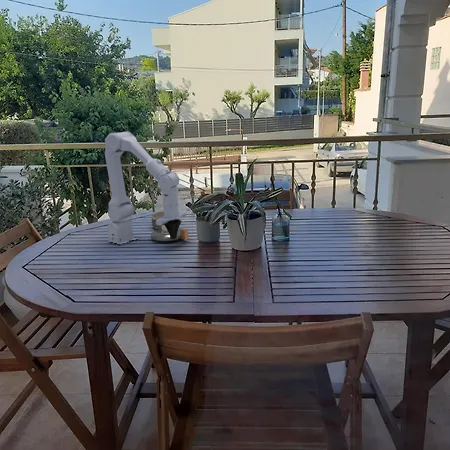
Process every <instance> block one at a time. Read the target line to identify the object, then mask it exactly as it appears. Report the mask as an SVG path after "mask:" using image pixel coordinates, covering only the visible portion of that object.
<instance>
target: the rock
mask: <svg viewBox="0 0 450 450" xmlns="http://www.w3.org/2000/svg"><path fill="white" fill-rule="evenodd" d="M163 216H164V210H163V211H162V210H161V211H157V212H154V213H153V214H152V215H151V222H152V223H151V224H152V228H153V229H154V230H157V229H162V225H164V224H162V225H156V220H157V219H159V218H161V217H163ZM178 220H180V219H178Z"/></svg>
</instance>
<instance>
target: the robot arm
mask: <svg viewBox="0 0 450 450" xmlns="http://www.w3.org/2000/svg"><path fill="white" fill-rule="evenodd" d="M104 143H105V149H104V158H105V163H106V168H107V174H108V180H109V187H110V191H111V199H110V200H109V202H108V211H107V214H108V216H109V219H110V220H111V222H109V223H108V225H107V234H108V241H110V242H113V243H112V244H114V243H117V244H122V242H125V241H129V240H132V239H133V237H134V234H133V221H132V218H133V214H134V212H135V207H134V205H133V203H132V199H131V198H130V197H129V196H128V195H127V192H126V187H125V180H124V175H123V169H122V161H121V156H122V154H124V152H130V153H132V154H133V155H134V156H135V157H137V158H138V159H139V161H141V162H143V164H144V165H145V170H146V171H147V172H148V173H150V175H151V176H152V177H153V178H154V179H155V180H156V181H157V185H158V187H159V188H160V191H161V194H162V195H161V197H162V207H163V212H164V216H163V217H161V218H159V219H157V220H156V225H162V224H164V225H165V227H166V229H167V230H168V233H169V236H170V238H171V239H176V238H177V232H178V228H180V226H181V224H182V220H181V219H182V218H186V217H187V215H188V214H187V211H180V210H179V197H178V196H179V195H178V185H179V184H180V177H179V175H178V173H177V172H174V171H171V170H170V169H169V168H167V167H166V166H165V165H164V164H163V163H162V161H161V160H160V159H158V158H153V157H152V156H151V155H150V154H149V153H148V152H147V151H146V150H145V148H144V147H143V146H142V145H141V143H139V141H138V140H137V137H135V136H134V135H133V134H132V132H130V131H122V132H111V133H109V134H108V135H107V136H106V138H105V139H104ZM179 211H180V212H179ZM178 219H179V220H178ZM110 242H109V243H110ZM117 244H116V245H117ZM122 245H123V244H122Z"/></svg>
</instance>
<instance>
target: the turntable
mask: <svg viewBox="0 0 450 450" xmlns="http://www.w3.org/2000/svg"><path fill="white" fill-rule="evenodd" d="M189 237H190V236H189V229H187V228H182V227H179V228H178V232H177V238H176V239H171V238H170V236H169V235H163V234H162V229H158V230H157V229H154V231H151V232H150V239H152V240H153V241H157V242H172V241H177V240H184V241H187V240H189Z"/></svg>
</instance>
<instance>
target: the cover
mask: <svg viewBox="0 0 450 450" xmlns="http://www.w3.org/2000/svg"><path fill="white" fill-rule="evenodd" d="M162 234H163V235H169V233H168V230H167V229H166V227H165V225H162Z"/></svg>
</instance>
